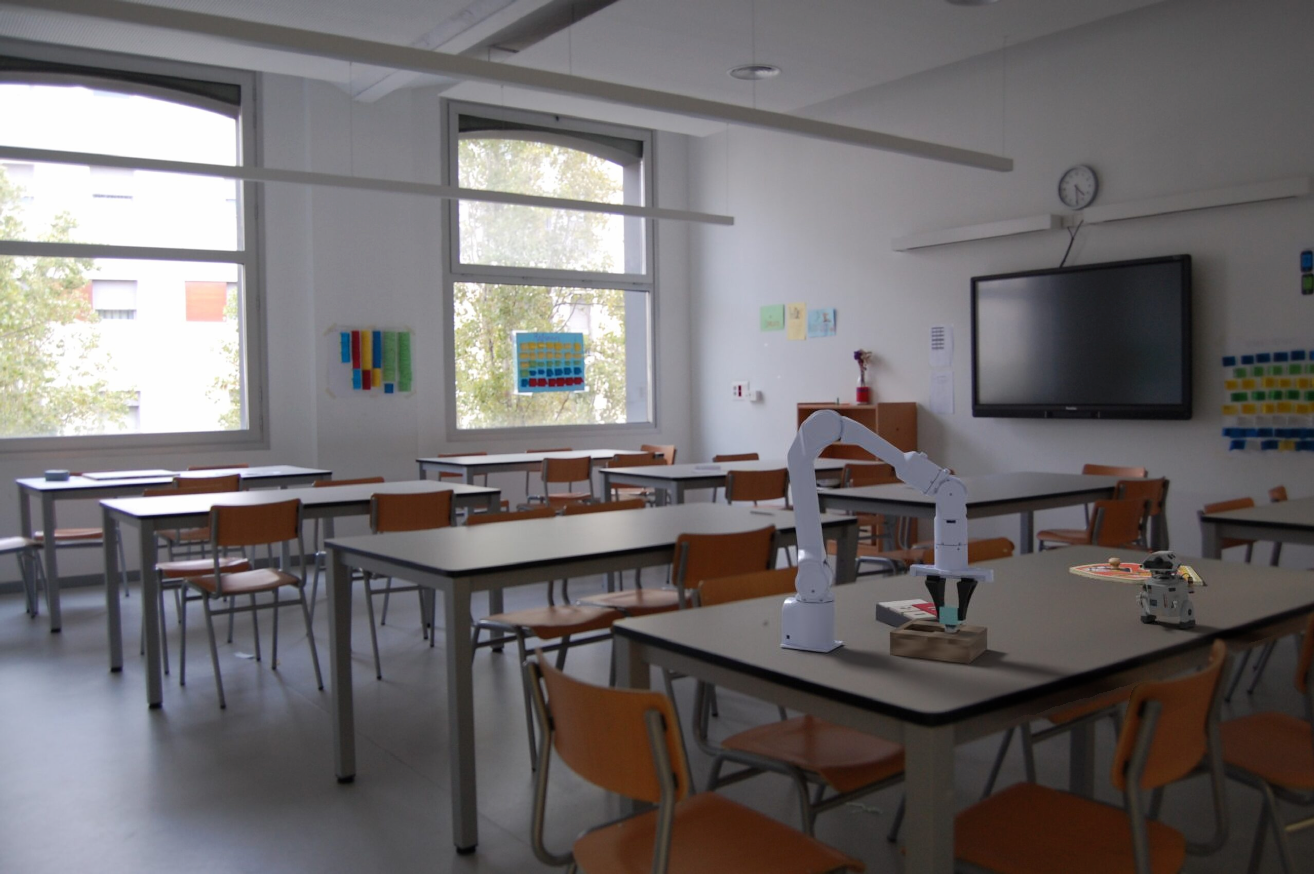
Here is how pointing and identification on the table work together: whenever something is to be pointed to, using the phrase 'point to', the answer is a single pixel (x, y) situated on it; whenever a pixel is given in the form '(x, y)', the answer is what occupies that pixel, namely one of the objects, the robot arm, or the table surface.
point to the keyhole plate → (938, 641)
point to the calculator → (905, 612)
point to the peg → (950, 618)
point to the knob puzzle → (1127, 572)
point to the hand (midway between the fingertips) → (951, 618)
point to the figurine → (1166, 590)
